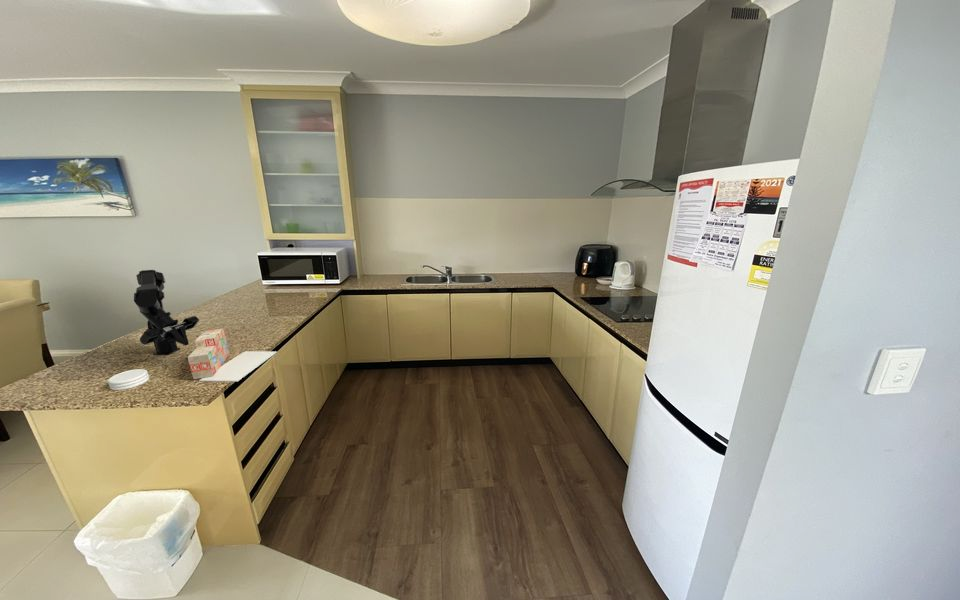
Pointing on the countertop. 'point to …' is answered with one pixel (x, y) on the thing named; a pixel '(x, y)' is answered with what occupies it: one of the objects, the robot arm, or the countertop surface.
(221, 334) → the stack of blocks
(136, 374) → the white ridged disc
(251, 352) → the mat
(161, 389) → the countertop surface
